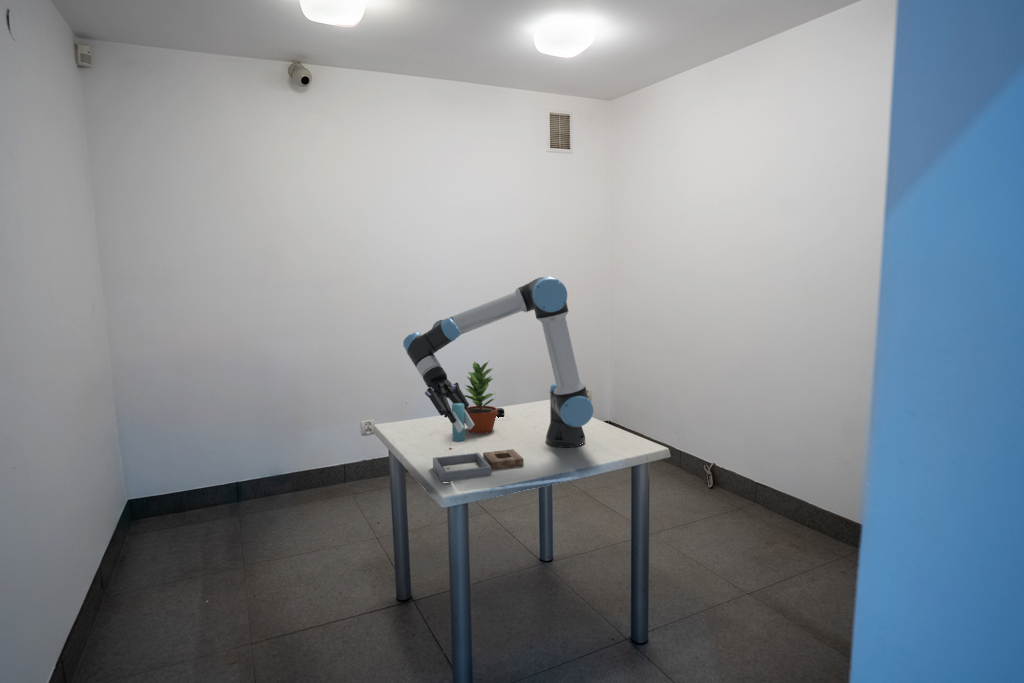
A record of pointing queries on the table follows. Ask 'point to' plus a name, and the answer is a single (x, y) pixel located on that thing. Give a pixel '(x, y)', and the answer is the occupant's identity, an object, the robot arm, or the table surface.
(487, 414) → the potted plant
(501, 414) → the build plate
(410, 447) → the table surface
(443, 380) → the robot arm
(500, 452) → the hole block
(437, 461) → the tray
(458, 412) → the ball
